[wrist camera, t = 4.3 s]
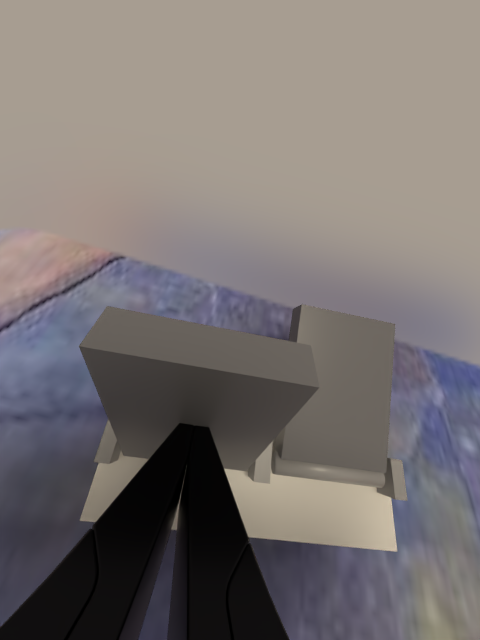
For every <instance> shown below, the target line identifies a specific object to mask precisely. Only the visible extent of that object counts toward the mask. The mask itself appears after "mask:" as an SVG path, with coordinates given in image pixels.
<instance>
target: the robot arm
mask: <svg viewBox="0 0 480 640" xmlns="http://www.w3.org/2000/svg"><path fill="white" fill-rule="evenodd" d="M193 429H194V430H193ZM192 434H193V435H192ZM186 465H187V466H186ZM185 470H186V471H185ZM184 475H185V476H184ZM183 480H184V481H183ZM182 485H183V486H182ZM181 490H182V491H181ZM180 495H181V497H180ZM179 500H180V503H179ZM178 504H179V511H178V522H177V533H176V544H175V556H174V567H173V579H172V590H171V601H170V613H169V624H168V635H167V640H290V639H289V637H288V635H287V633H286V631H285V628H284V626H283V624H282V621H281V619H280V617H279V615H278V612H277V610H276V608H275V605H274V603H273V601H272V598H271V596H270V594H269V591H268V588H267V586H266V583H265V581H264V578H263V575H262V573H261V570H260V568H259V565H258V562H257V559H256V557H255V554H254V551H253V548H252V545H251V544H249V537H248V535H247V532H246V529H245V526H244V523H243V521H242V518H241V515H240V512H239V509H238V506H237V504H236V501H235V498H234V495H233V492H232V490H231V487H230V484H229V481H228V478H227V476H226V473H225V470H224V467H223V464H222V461H221V459H220V456H219V453H218V450H217V447H216V445H215V442H214V439H213V436H212V433H211V431H210V428H209V427H204V426H197V425H195V426H194V425H190V424H184V423H179V424H178V425H177V426H176V427H175V428H174V430H173V431H172V432H171V433H170V434H169V436H168V437H167V438H166V439H165V440H164V441H163V443H162V444H161V445H160V446H159V447H158V449H157V450H156V451H155V452H154V453H153V455H152V456H151V457H150V458H149V459H148V460H147V462H146V463H145V464H144V465H143V466H142V468H141V469H140V470H139V471H138V472H137V474H136V475H135V476H134V477H133V478H132V479H131V481H130V482H129V483H128V484H127V485H126V487H125V488H124V489H123V490H122V491H121V492H120V494H119V495H118V496H117V497H116V498H115V500H114V501H113V502H112V503H111V504H110V506H109V507H108V508H107V509H106V510H105V511H104V513H103V514H102V515H101V516H100V517H99V519H98V520H97V521H96V522H95V523H94V524H93V527H92V529H89V530H88V531H87V533H86V534H85V535H84V536H83V537H82V538H81V540H80V541H79V542H78V543H77V544H76V546H75V547H74V548H73V549H72V550H71V551H70V552H69V554H68V555H67V556H66V557H65V558H64V559H63V560H62V562H61V563H60V564H59V565H58V566H57V567H56V568H55V570H54V571H53V572H52V573H51V574H50V575H49V576H48V577H47V579H46V580H45V581H44V582H43V583H42V584H41V585H40V586H39V587H38V588H37V589H36V590H35V591H34V592H33V593H32V594H31V595H30V597H29V598H28V599H27V600H26V601H25V602H24V603H23V604H22V605H21V606H20V607H19V608H18V609H17V610H16V611H15V612H14V613H13V614H12V616H11V617H10V618H9V619H8V620H7V621H6V622H5V623H4V624H3V625H2V626H1V627H0V640H138V638H139V634H140V631H141V628H142V624H143V621H144V618H145V615H146V611H147V608H148V605H149V601H150V598H151V595H152V591H153V588H154V585H155V581H156V578H157V575H158V571H159V568H160V565H161V562H162V558H163V555H164V552H165V548H166V545H167V542H168V538H169V535H170V532H171V528H172V525H173V522H174V518H175V515H176V512H177V508H178Z"/></svg>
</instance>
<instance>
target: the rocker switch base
mask: <svg viewBox="0 0 480 640" xmlns="http://www.w3.org/2000/svg"><path fill="white" fill-rule="evenodd" d="M274 443H275V439H274V440H273V441H272V442H271V443H270V445H269V446H268V447H267V448H266V449H265V450H264V451H263V453H262V454H261V455H260V456H259V457H258V458H257V459H256V460H255V462H254V463H253V464H252V465H251V466H250V467H249V468H248V470H247V471H239V470H231V469H224V470H225V473H226V476H227V478H228V481H229V484H230V487H231V490H232V492H233V495H234V498H235V501H236V504H237V506H238V509H239V512H240V515H241V518H242V521H243V523H244V526H245V529H246V532H247V535H248V537H252V538H263V539H273V540H283V541H294V542H304V543H314V544H324V545H335V546H345V547H355V548H366V549H376V550H386V551H396V552H397V546H396V537H395V529H394V520H393V511H392V502H391V498H393V499H397V500H406V501H407V494H406V487H405V480H404V472H403V465H402V460H397V459H391V458H387V467H386V473H384V475H385V485H384V486H383V487H382V488H377V487H369V486H361V485H354V484H346V483H338V482H330V481H322V480H314V479H307V478H299V477H291V476H283V475H275V474H273V473H272V470H271V458H272V453H273V452H274V451H275V450H274ZM275 452H276V451H275ZM147 460H148V459H145V458H137V457H129V456H123V453H122V451H121V449H120V446H119V444H118V441H117V439H116V436H115V434H114V431H113V429H112V426H111V424H110V421H109V419H108V421H107V424H106V427H105V430H104V433H103V436H102V439H101V442H100V445H99V448H98V451H97V454H96V457H95V460H94V462H97V463H99V464H98V467H97V470H96V473H95V476H94V479H93V482H92V485H91V488H90V491H89V494H88V497H87V500H86V503H85V506H84V509H83V512H82V515H81V518H80V521H88V522H96V521H97V520H98V519H99V517H100V516H101V515H102V514H103V513H104V511H105V510H106V509H107V508H108V507H109V506H110V504H111V503H112V502H113V501H114V500H115V498H116V497H117V496H118V495H119V494H120V492H121V491H122V490H123V489H124V488H125V487H126V485H127V484H128V483H129V482H130V481H131V479H132V478H133V477H134V476H135V475H136V474H137V472H138V471H139V470H140V469H141V468H142V466H143V465H144V464H145V463H146V462H147ZM186 466H187V465H186ZM185 471H186V470H185ZM184 476H185V475H184ZM183 481H184V480H183ZM182 486H183V485H182ZM181 491H182V490H181ZM180 497H181V495H180ZM179 503H180V500H179ZM178 511H179V504H178V508H177V512H176V515H175V518H174V522H173V525H172V528H171V530H177V522H178Z"/></svg>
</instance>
